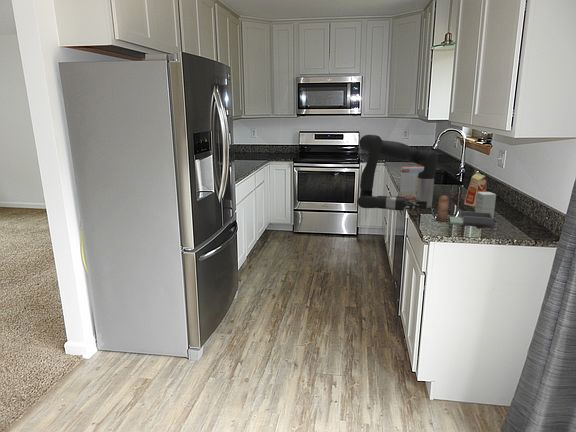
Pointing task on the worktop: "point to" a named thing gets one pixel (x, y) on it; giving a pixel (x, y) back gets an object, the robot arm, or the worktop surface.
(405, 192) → the cracker box
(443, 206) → the yam
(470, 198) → the milk carton
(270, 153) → the worktop surface
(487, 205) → the supplement box
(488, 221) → the cart bed
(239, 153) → the worktop surface
